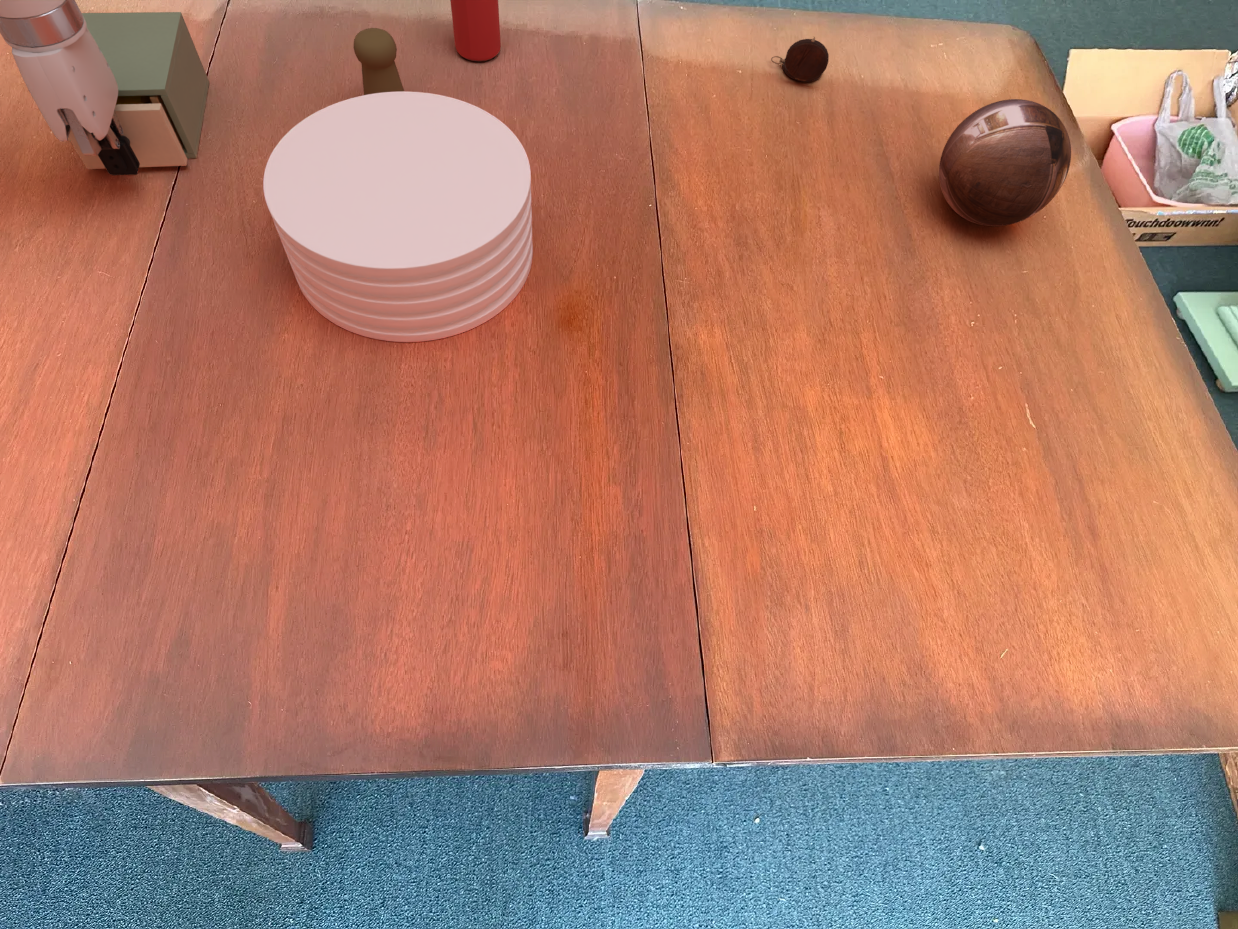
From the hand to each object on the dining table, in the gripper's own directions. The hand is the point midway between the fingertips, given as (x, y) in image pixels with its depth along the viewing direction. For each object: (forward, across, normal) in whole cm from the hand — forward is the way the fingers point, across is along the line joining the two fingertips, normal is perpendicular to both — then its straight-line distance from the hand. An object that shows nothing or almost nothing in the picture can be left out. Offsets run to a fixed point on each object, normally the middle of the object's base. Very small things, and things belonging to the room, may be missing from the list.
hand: (125, 169), depth 92 cm
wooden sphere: (+4, +10, +107) cm, 107 cm away
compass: (+4, -21, +90) cm, 92 cm away
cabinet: (+3, -14, 0) cm, 14 cm away
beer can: (+4, -28, +43) cm, 51 cm away
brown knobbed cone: (+3, -14, +30) cm, 33 cm away
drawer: (+2, -10, 0) cm, 10 cm away
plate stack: (+3, +12, +33) cm, 35 cm away
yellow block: (+1, -9, 0) cm, 9 cm away
